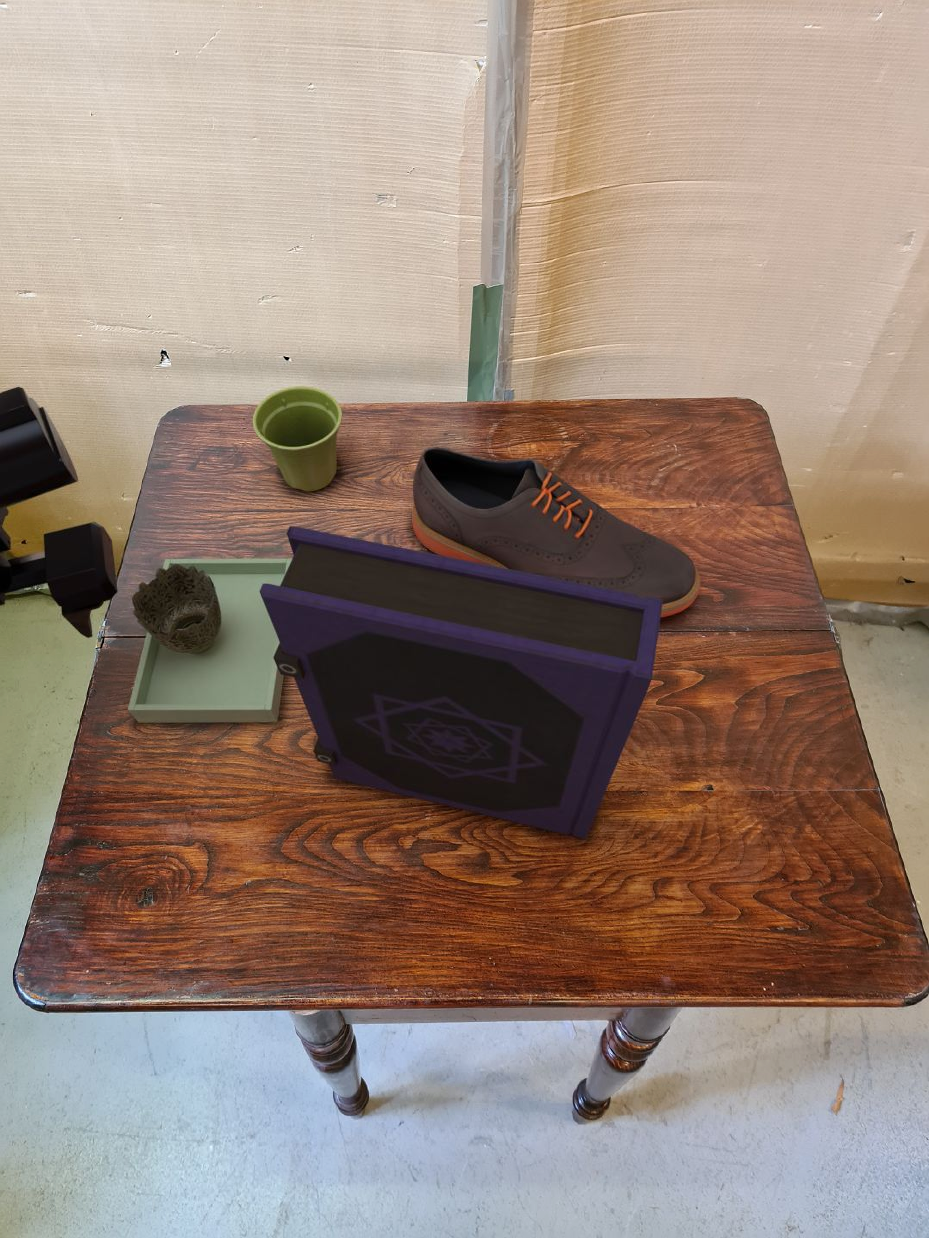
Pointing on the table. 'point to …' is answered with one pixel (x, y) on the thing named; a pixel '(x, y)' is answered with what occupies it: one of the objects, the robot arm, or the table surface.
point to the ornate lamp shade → (179, 609)
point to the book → (462, 676)
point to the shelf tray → (218, 655)
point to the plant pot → (301, 434)
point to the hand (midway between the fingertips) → (32, 647)
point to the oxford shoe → (541, 528)
